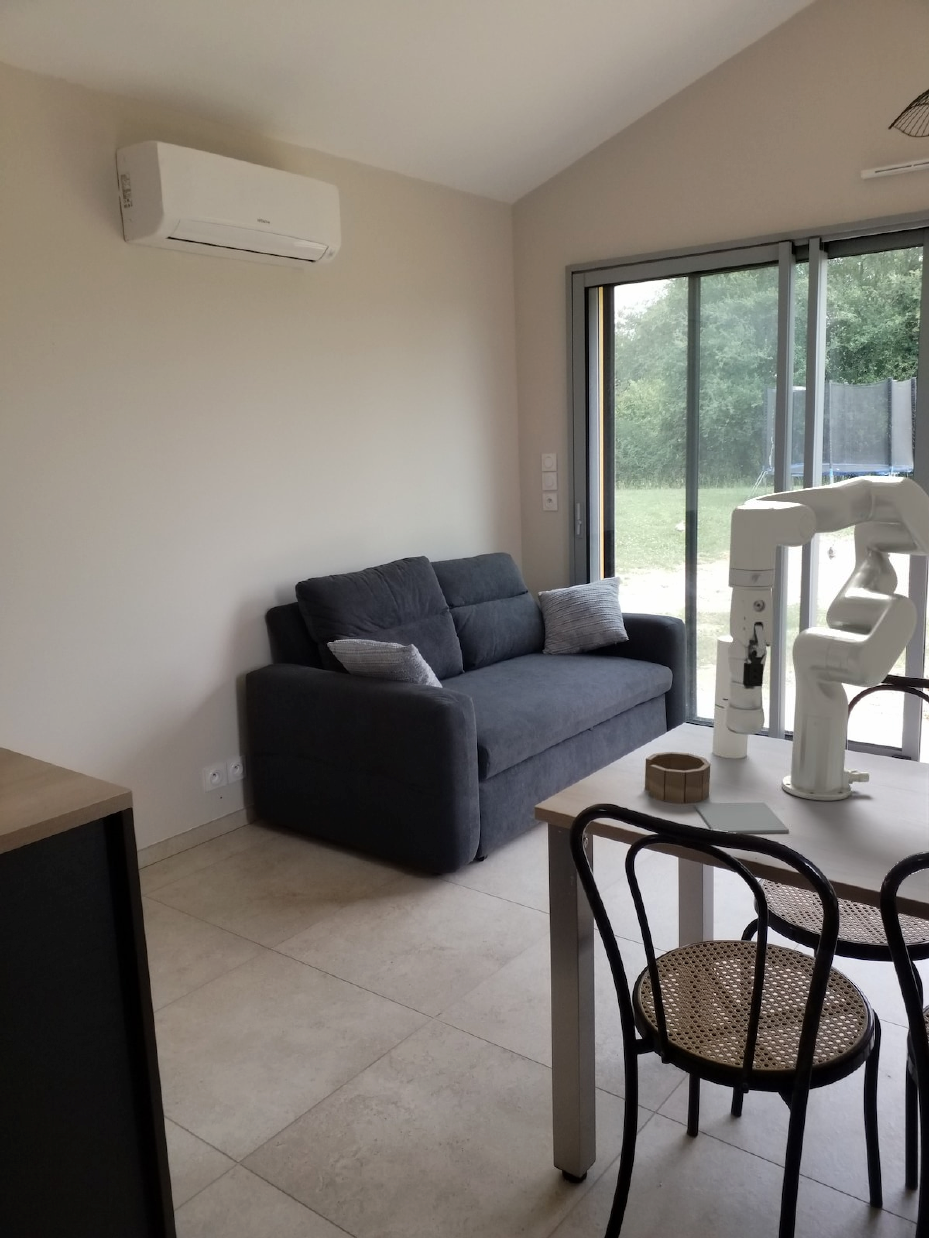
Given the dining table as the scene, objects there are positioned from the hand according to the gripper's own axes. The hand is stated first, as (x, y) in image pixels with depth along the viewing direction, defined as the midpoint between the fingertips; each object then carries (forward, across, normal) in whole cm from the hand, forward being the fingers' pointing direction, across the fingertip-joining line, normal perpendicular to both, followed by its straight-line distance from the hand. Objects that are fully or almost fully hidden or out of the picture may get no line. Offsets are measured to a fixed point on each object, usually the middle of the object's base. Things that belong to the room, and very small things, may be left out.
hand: (746, 680), depth 174 cm
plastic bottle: (+10, 0, 0) cm, 10 cm away
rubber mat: (+25, 0, 0) cm, 25 cm away
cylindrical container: (+26, +37, -9) cm, 46 cm away
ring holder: (+25, +14, +8) cm, 30 cm away
